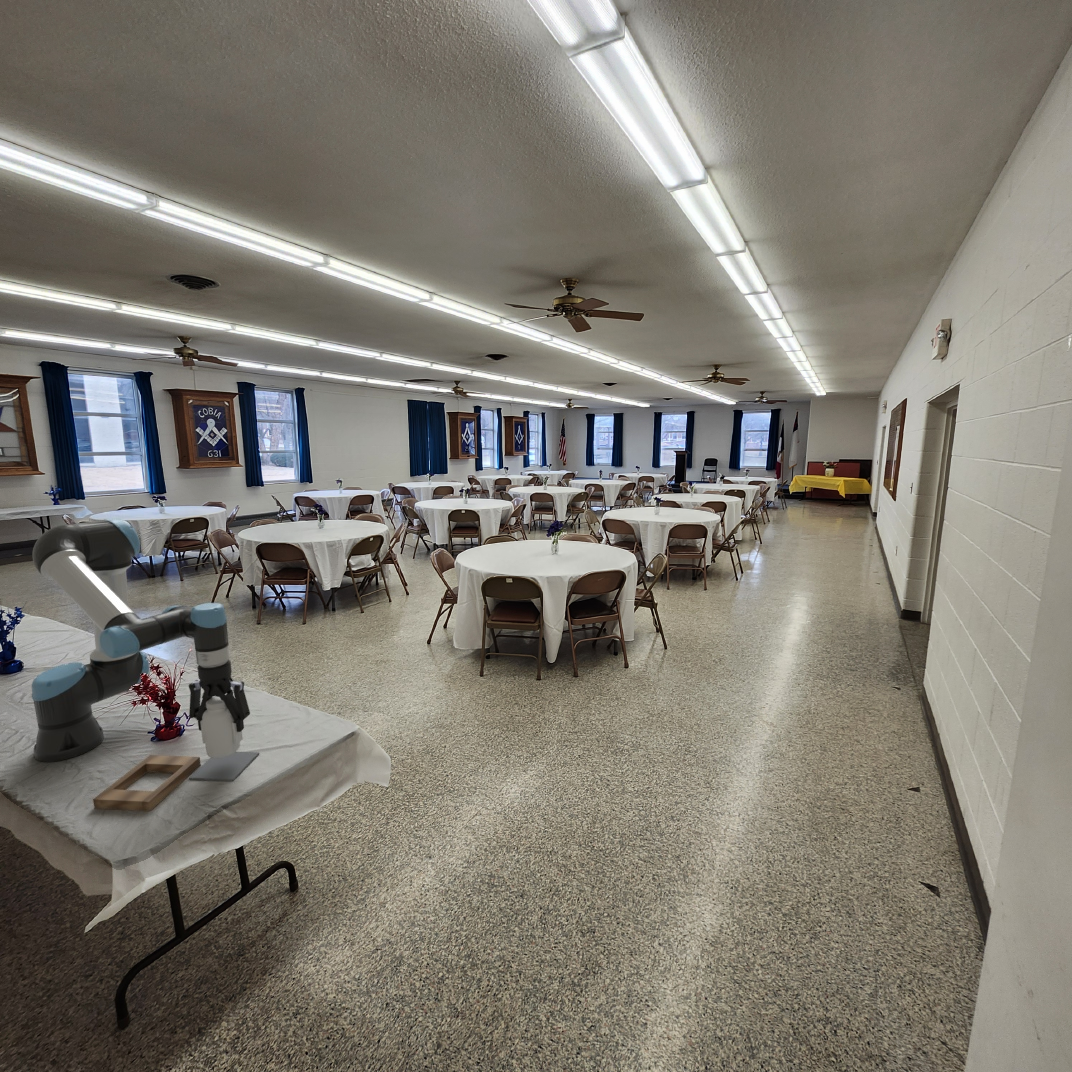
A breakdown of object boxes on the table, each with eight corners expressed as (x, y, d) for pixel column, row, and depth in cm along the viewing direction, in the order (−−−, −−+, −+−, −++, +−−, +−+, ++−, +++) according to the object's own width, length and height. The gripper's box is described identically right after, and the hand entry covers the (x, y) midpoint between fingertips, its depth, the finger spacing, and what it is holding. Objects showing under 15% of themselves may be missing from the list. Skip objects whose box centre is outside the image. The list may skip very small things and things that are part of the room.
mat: (188, 779, 139) (188, 777, 138) (218, 752, 150) (218, 750, 150) (233, 781, 138) (233, 779, 138) (259, 754, 150) (259, 752, 150)
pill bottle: (202, 761, 138) (196, 708, 136) (211, 744, 146) (205, 694, 143) (236, 756, 140) (230, 704, 138) (243, 740, 148) (238, 690, 145)
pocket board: (94, 808, 127) (92, 799, 127) (151, 763, 145) (150, 754, 145) (150, 810, 127) (148, 801, 126) (200, 765, 144) (199, 756, 144)
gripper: (165, 667, 135) (175, 747, 140) (243, 669, 134) (252, 750, 139) (185, 655, 143) (195, 732, 147) (260, 657, 142) (267, 734, 146)
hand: (222, 741), depth 143 cm, fingers closed on pill bottle, 8 cm apart
